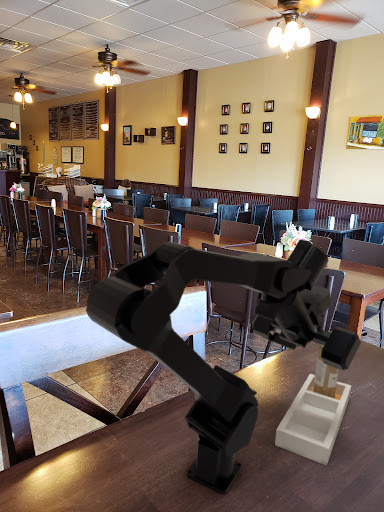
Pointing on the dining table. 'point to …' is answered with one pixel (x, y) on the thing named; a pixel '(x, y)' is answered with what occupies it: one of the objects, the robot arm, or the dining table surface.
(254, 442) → the dining table surface
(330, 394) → the sprinkles bottle
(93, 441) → the dining table surface
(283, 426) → the condiment rack
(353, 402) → the dining table surface
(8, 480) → the dining table surface
